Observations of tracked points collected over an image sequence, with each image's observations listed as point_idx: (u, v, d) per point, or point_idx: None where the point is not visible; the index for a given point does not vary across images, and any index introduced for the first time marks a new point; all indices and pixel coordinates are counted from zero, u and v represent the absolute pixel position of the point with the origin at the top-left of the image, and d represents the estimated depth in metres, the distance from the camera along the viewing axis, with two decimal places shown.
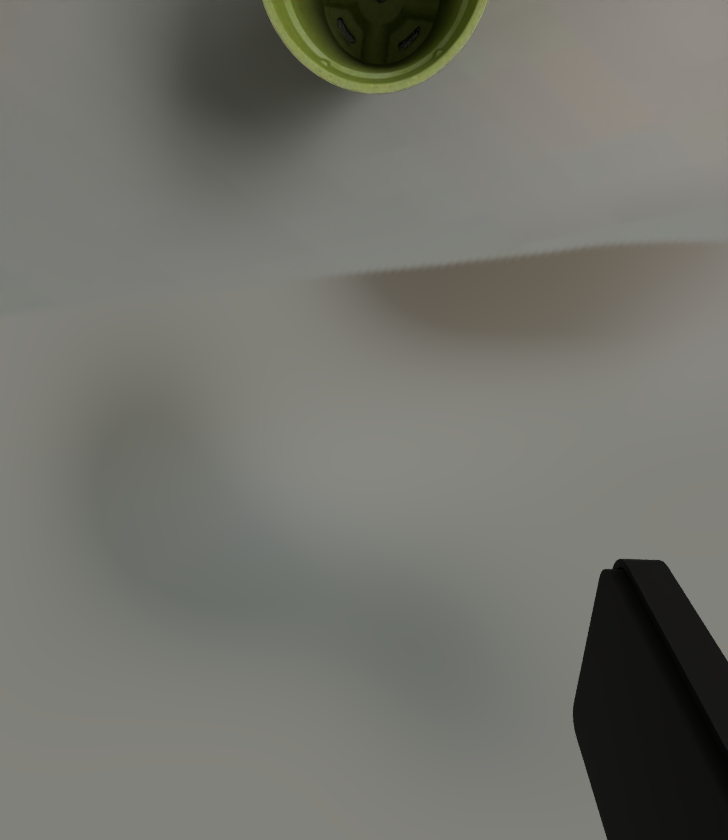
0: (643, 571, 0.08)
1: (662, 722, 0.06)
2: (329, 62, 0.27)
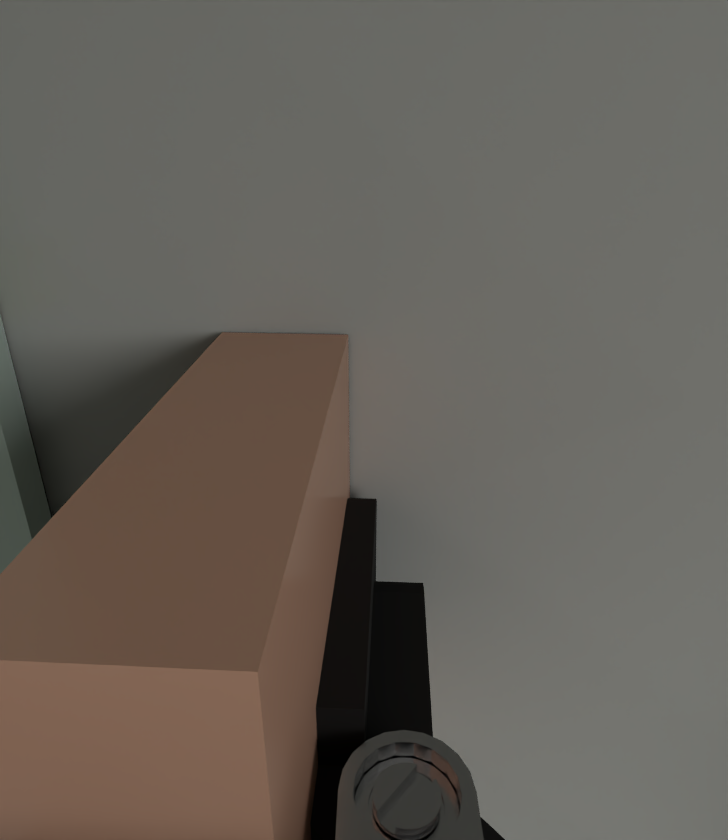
0: (352, 506, 0.09)
1: None
2: None
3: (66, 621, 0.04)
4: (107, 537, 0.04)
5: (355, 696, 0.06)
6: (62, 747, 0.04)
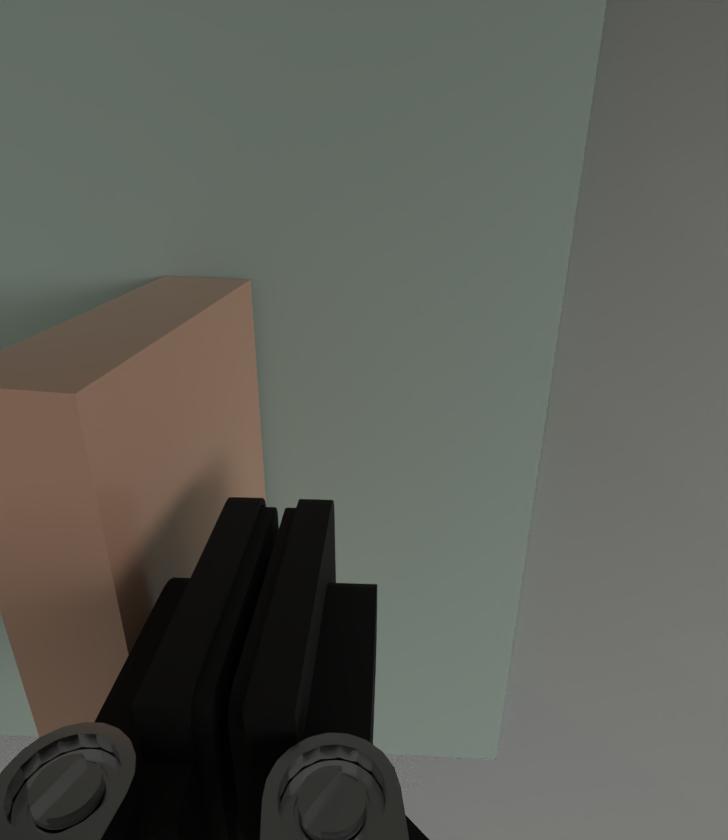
0: (307, 507, 0.09)
1: None
2: None
3: None
4: (32, 355, 0.08)
5: (288, 698, 0.06)
6: None
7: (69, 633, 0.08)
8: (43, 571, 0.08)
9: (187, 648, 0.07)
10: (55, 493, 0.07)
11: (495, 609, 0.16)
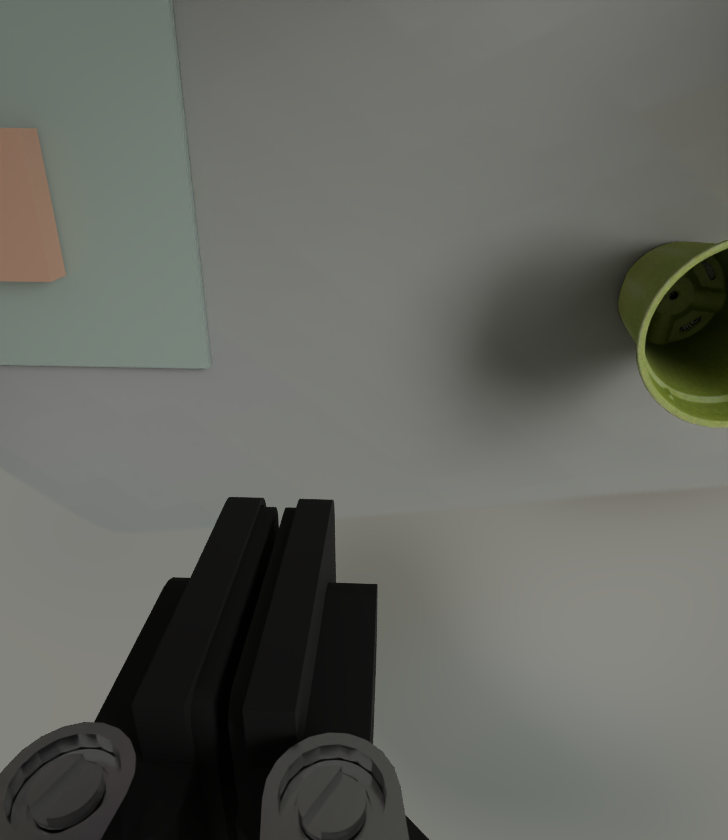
0: (307, 507, 0.09)
1: None
2: (669, 391, 0.32)
3: None
4: None
5: (286, 697, 0.06)
6: None
7: None
8: None
9: (187, 648, 0.07)
10: None
11: (189, 280, 0.37)
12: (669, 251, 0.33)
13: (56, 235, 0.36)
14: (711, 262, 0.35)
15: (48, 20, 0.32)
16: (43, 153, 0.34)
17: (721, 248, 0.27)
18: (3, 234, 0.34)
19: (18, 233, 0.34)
